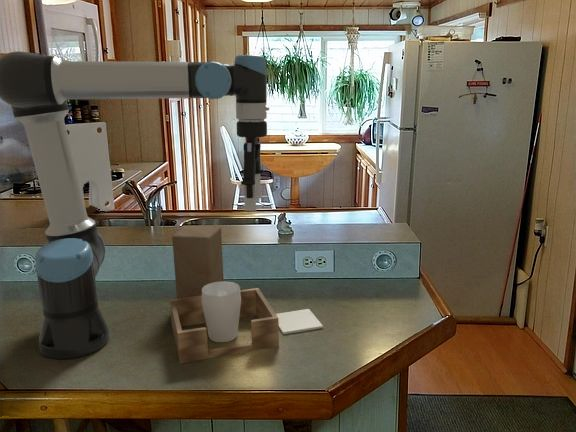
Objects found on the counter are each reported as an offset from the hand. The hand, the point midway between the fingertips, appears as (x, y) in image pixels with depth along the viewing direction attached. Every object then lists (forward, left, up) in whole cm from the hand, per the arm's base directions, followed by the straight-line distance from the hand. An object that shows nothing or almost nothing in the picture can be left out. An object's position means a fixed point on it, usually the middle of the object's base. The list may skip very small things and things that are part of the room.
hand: (253, 204), depth 135 cm
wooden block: (-14, +4, -27) cm, 31 cm away
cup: (-12, -17, -27) cm, 34 cm away
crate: (-12, -17, -27) cm, 34 cm away
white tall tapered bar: (-49, +122, -27) cm, 135 cm away
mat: (+6, -16, -27) cm, 32 cm away
